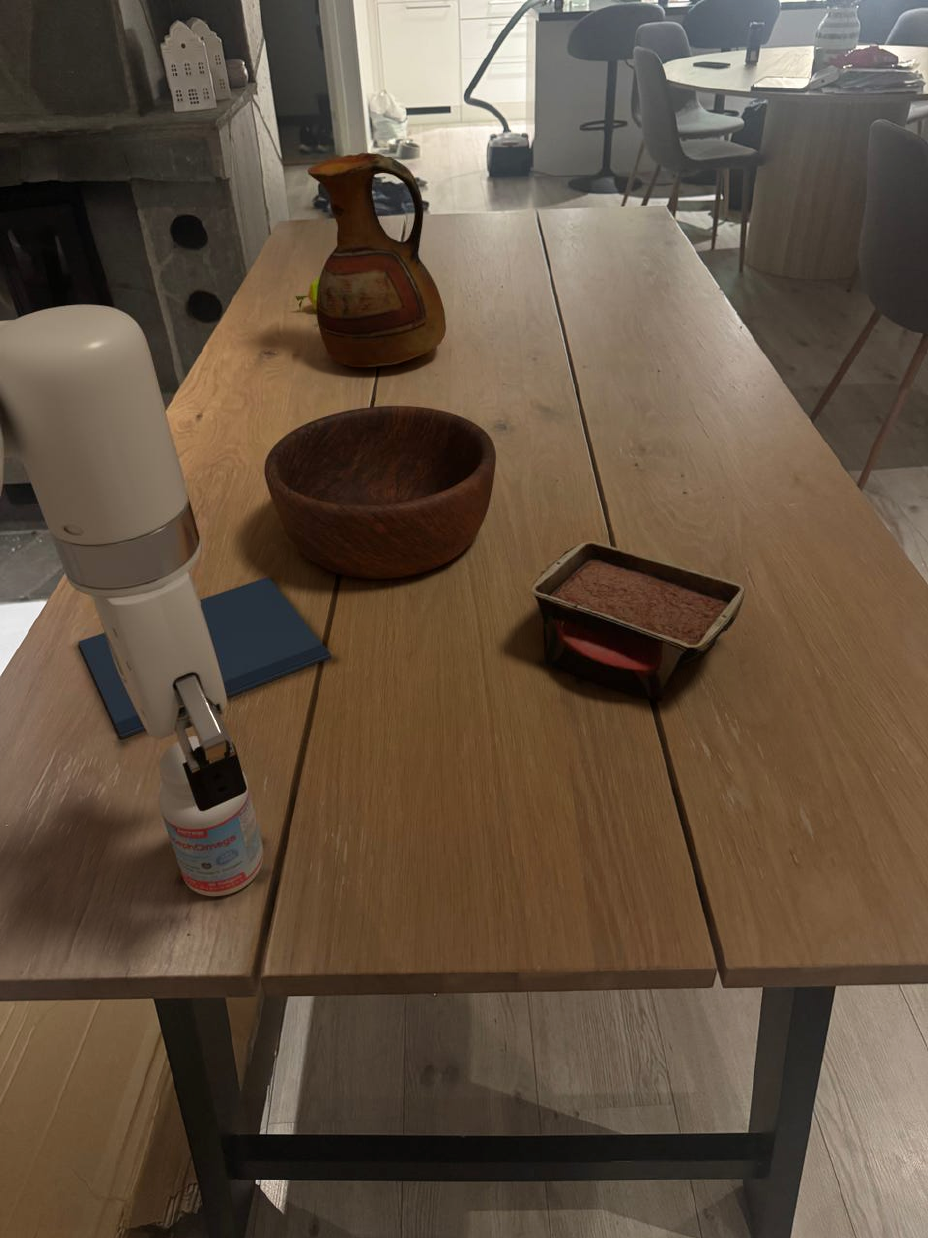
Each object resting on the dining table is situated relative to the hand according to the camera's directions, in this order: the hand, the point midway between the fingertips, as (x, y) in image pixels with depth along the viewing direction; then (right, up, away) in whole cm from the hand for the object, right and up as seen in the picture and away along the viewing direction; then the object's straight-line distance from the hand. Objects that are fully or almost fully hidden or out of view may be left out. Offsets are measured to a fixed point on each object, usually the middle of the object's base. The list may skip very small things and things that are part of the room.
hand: (198, 753), depth 62 cm
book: (-7, +6, +28) cm, 29 cm away
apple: (-8, +65, +107) cm, 126 cm away
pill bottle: (0, -9, +7) cm, 12 cm away
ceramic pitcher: (+5, +51, +88) cm, 102 cm away
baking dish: (+34, +6, +25) cm, 42 cm away
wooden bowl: (+9, +19, +44) cm, 49 cm away
